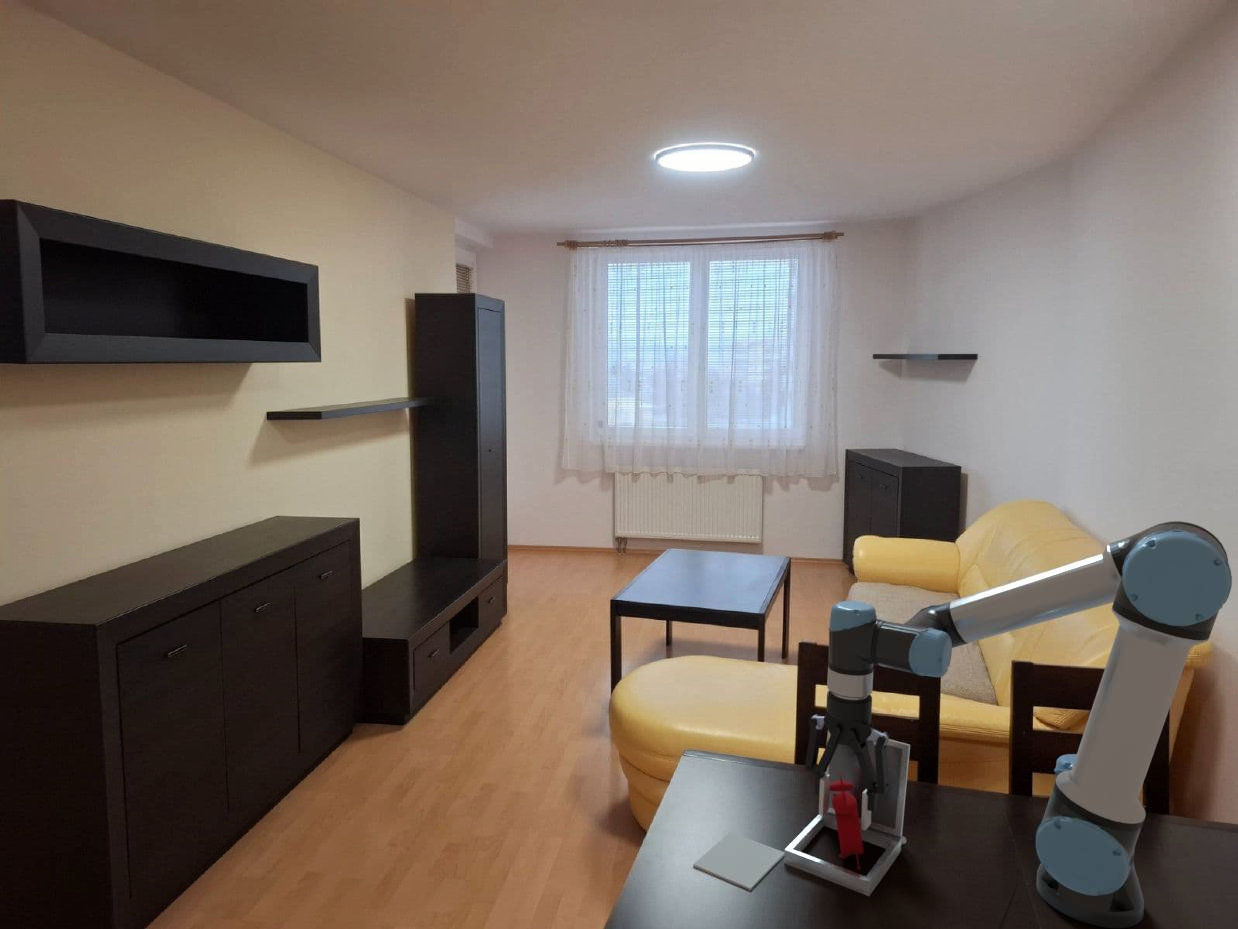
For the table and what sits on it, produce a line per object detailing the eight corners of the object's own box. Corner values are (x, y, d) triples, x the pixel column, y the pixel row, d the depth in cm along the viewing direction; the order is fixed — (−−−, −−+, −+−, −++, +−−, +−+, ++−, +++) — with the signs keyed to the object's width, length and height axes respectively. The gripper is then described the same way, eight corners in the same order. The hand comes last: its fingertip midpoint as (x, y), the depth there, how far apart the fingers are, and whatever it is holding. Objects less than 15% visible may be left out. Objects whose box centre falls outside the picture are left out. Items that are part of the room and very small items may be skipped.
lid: (899, 836, 144) (902, 835, 145) (908, 746, 144) (910, 744, 145) (819, 809, 152) (822, 808, 153) (827, 724, 153) (830, 723, 154)
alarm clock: (864, 877, 137) (874, 793, 135) (826, 871, 138) (835, 787, 137) (858, 843, 147) (866, 765, 146) (823, 837, 148) (831, 759, 147)
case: (900, 852, 145) (901, 836, 144) (869, 896, 132) (869, 879, 132) (820, 824, 154) (821, 809, 153) (784, 863, 141) (784, 847, 140)
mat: (785, 854, 143) (785, 852, 143) (750, 890, 133) (750, 888, 133) (730, 834, 150) (730, 831, 150) (693, 866, 139) (693, 864, 139)
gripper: (914, 699, 137) (908, 829, 139) (804, 673, 149) (800, 793, 151) (900, 713, 131) (894, 848, 133) (786, 685, 143) (782, 809, 145)
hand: (844, 819), depth 142 cm, fingers closed on alarm clock, 7 cm apart
